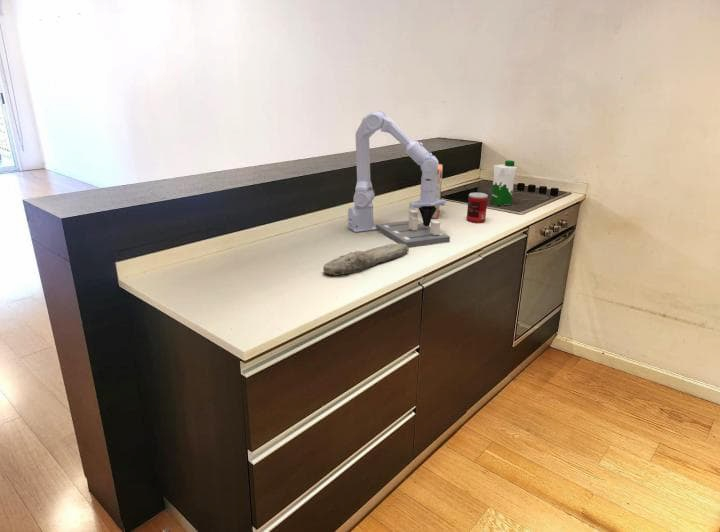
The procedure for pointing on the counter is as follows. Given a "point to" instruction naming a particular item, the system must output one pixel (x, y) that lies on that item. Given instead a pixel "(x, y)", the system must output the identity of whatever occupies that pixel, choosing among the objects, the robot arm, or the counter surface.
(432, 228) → the block
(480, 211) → the canned food
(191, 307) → the counter surface
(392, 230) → the breaker panel
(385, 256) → the elongated rock
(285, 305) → the counter surface
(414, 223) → the block
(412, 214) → the block
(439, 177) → the cracker box
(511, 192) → the milk carton
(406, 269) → the counter surface
